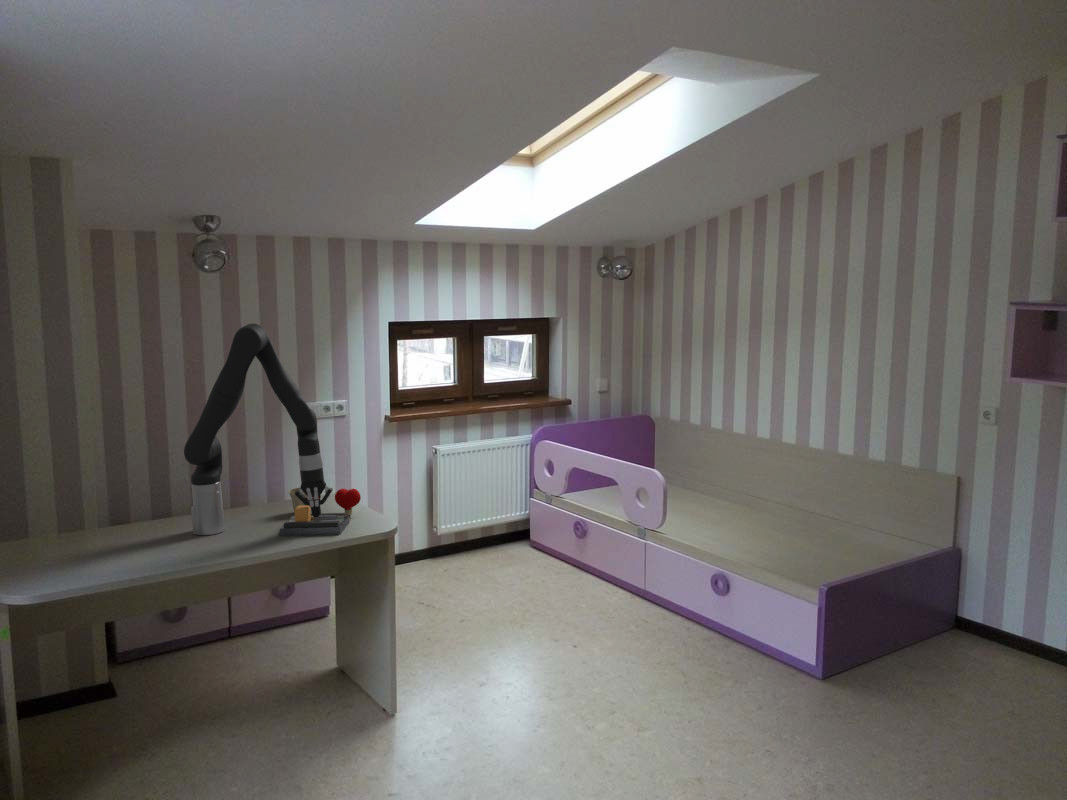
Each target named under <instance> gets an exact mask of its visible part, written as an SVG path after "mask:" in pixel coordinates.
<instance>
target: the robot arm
mask: <svg viewBox="0 0 1067 800" xmlns="http://www.w3.org/2000/svg"><path fill="white" fill-rule="evenodd" d="M274 347H275V346H274V345H273V343H272V341H271V339H270V336H269V334H268V332H267V330H266V329H265V328H264V327H263V326H262V325H261V324H258V323H249V324H246V325H244V326H241V327H240V328H239V329H237V331H236V332H235V334H234V336H233V339H232V341H231V346H230V349H229V353H228V355H227V358H226V361H225V363H224V365H223V367H222V369H221V370H220V371H219V374H218V376H217V378H216V380H215V382H214V384H213V386H212V388H211V391H210V394H209V396H208V399H207V401H206V403H205V406H204V408H203V409H202V412H201V414H200V417H199V419H198V421H197V423H196V425H195V427H194V428H193V430H192V432H191V434H190V435H189V437H188V439H187V441H186V442H185V444H184V449H183V454H184V458H185V461H187V463H189V464H191V465H192V466H193V465H194V466H196V468H195V470H194V472H193V473H192V475H191V477H190V482H191V490H192V491H191V492H192V494H191V495H192V504H193V505H192V506H191V507H190V512H191V513H190V514H191V523H192V534H193V535H198V536H210V535H217V534H220V533H222V532H224V531H225V519H224V508H223V507H224V506H223V494H222V482H221V480H222V479H221V476H222V474H223V450H222V445H221V442H220V440H219V439H218V438H217V435H218V434H217V433H219V430H220V429H221V428H222V427H223V425H224V424H225V423H226V422H228V420H229V418H230V417H231V416H232V415H233V414H234V412H235V410H236V408H237V406H238V405H239V403H240V400H241V398H242V396H243V392H244V389H245V385H246V380H247V375H248V371H249V369H250V366H251V365H252V363H253V361H254V359H255V358H257V360H258V362H259V364H261V366H262V368H263V370H264V372H265V374H266V378H267V380H268V382H269V385H270V387H271V389H272V391H273V393H274V394H275V395H276V397H277V399H279V402H280V403H281V404H282V405H283V407H284V408H285V410H286V412H287V413H288V415H289V417H290V418H291V420H292V422H293V424H294V425H295V427H296V434H297V449H298V465H299V475H300V483H301V484H300V487H299V488H300V489H299V490H298V491H296V492H295V495H296V496H297V497H298V498H299V499H300V500H301V501H302V502H303V503H304V504H305V505H308V506H310V507H311V514H312V516H314V517H319V515H320V514H321V513H322V510H321V509H322V508H321V505H324V504H325V503H326V501H327V500H328V498H329V496H330V495H331V494H332V492H333V491H334V490H333V488H332V487H329V486H327V483H326V481H325V475H324V466H323V465H324V464H323V459H322V455H321V454H322V453H321V449H320V448H321V447H320V441H319V436H318V421H317V419H318V418H317V413H315V411H314V410H313V409H312V408H310V407H309V405H308V404H307V402H306V400H305V399H304V397H303V394H302V392H301V391H300V389H299V388H298V386H297V385H296V383H295V382H294V381H293V378H291V376H290V374H289V373H288V371H287V369H286V368H285V366H284V365H283V363H282V362H281V358H280V357H279V356H278V354H277V352H276V350H275V348H274ZM303 492H304V493H305V494H306V495H307V496H308V499H309V500H308V499H307V498H306V497H305V495H304V494H303ZM323 492H324V495H323V497H322V499H321V495H322V494H323Z"/></svg>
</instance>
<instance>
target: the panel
mask: <svg viewBox="0 0 1067 800" xmlns="http://www.w3.org/2000/svg"><path fill="white" fill-rule="evenodd" d="M331 521H339V525H338V526H329V527H289V528H284V524H283V525H282V526H281V527H280V528H279V535H280V536H281V537H287V536H288V537H291V536H292V537H295V536H297V537H298V535H299V536H326V535H327V536H332V535H333V536H334V535H335V536H336V535H338V536H339V535H342V533H343V532H344V530H346V528H347V527H348V526H349V524H350V516H349V515H348V516H347V515H346V517H345V518H344V515H321V516H319V517H314V516H311V520H310V521H295V516H292V515H291V517H290V518H289V519H288V520H287V521H285V523H291V522H331Z"/></svg>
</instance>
